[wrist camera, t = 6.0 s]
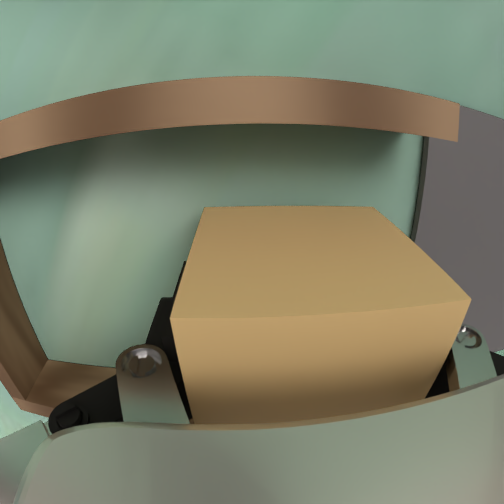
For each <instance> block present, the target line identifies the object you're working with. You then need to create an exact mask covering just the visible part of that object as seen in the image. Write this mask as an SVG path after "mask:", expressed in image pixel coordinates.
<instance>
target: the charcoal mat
mask: <svg viewBox="0 0 504 504" xmlns="http://www.w3.org/2000/svg"><path fill="white" fill-rule="evenodd" d="M411 240H412V241H413V242H414V243H415V244H416V245H417V246H418V247H420V248H421V249H422V250H423V251H424V252H425V253H426V254H427V255H428V256H429V257H430V258H431V259H432V260H433V261H434V262H435V263H436V264H438V265H439V266H440V267H441V268H442V269H443V270H444V271H445V272H446V273H447V274H448V275H449V276H450V277H451V278H452V279H453V280H454V281H455V282H456V283H457V284H458V285H459V286H460V287H461V288H462V289H463V290H464V292H465V293H466V294H467V295H468V296H469V297H470V298H471V299H472V300H471V302H470V305H469V307H468V310H467V312H466V315H465V317H464V320H463V322H462V324H467V325H470V326H473V327H475V328H476V329H478V330H479V331H480V332H481V333H482V334H483V336H484V338H485V340H486V343H487V346H488V349H489V351H491V352H497V351H500V350H503V349H504V119H501V118H498V117H495V116H492V115H489V114H486V113H483V112H480V111H477V110H474V109H470V108H467V107H464V106H460V110H459V129H458V142H454V141H449V140H444V139H439V138H433V137H427V136H424V144H423V156H422V166H421V175H420V183H419V191H418V198H417V205H416V211H415V217H414V223H413V229H412V234H411Z"/></svg>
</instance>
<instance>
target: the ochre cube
mask: <svg viewBox="0 0 504 504" xmlns="http://www.w3.org/2000/svg"><path fill="white" fill-rule="evenodd" d="M471 300H472V299H471V298H470V297H469V296H468V295H467V294H466V293H465V292H464V290H463V289H462V288H461V287H460V286H459V285H458V284H457V283H456V282H455V281H454V280H453V279H452V278H451V277H450V276H449V275H448V274H447V273H446V272H445V271H444V270H443V269H442V268H441V267H440V266H439V265H438V264H436V263H435V262H434V261H433V260H432V259H431V258H430V257H429V256H428V255H427V254H426V253H425V252H424V251H423V250H422V249H421V248H420V247H418V246H417V245H416V244H415V243H414V242H413V241H412V240H411V239H410V238H409V237H407V236H406V235H405V234H404V233H403V232H402V231H401V230H400V229H398V228H397V227H396V226H395V225H394V224H393V223H391V222H390V221H389V220H388V219H387V218H386V217H384V216H383V215H382V214H381V213H380V212H379V211H377V210H376V209H375V208H374V207H357V206H236V207H204V210H203V213H202V216H201V219H200V222H199V225H198V228H197V231H196V234H195V237H194V240H193V243H192V246H191V249H190V253H189V256H188V259H187V262H186V265H185V269H184V272H183V275H182V278H181V282H180V285H179V288H178V292H177V295H176V298H175V302H174V305H173V309H172V312H171V316H170V321H171V326H172V331H173V336H174V341H175V346H176V351H177V355H178V360H179V364H180V368H181V373H182V377H183V381H184V385H185V389H186V393H187V397H188V401H189V405H190V409H191V413H192V416H193V420H194V424H258V423H276V422H289V421H300V420H310V419H319V418H327V417H335V416H342V415H348V414H355V413H361V412H366V411H372V410H377V409H382V408H387V407H392V406H397V405H401V404H405V403H410V402H414V401H418V400H422V399H425V397H426V395H427V393H428V392H429V390H430V388H431V386H432V384H433V383H434V381H435V379H436V377H437V375H438V373H439V371H440V369H441V368H442V366H443V364H444V362H445V360H446V358H447V355H448V353H449V351H450V349H451V347H452V345H453V343H454V341H455V338H456V336H457V334H458V332H459V329H460V327H461V325H462V322H463V320H464V317H465V315H466V312H467V310H468V307H469V305H470V302H471Z"/></svg>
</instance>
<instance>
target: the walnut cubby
mask: <svg viewBox="0 0 504 504" xmlns="http://www.w3.org/2000/svg"><path fill="white" fill-rule="evenodd" d="M459 110H460V104H459V103H455V102H451V101H448V100H444V99H440V98H436V97H432V96H428V95H423V94H419V93H414V92H409V91H405V90H399V89H394V88H388V87H383V86H376V85H370V84H363V83H356V82H347V81H339V80H329V79H317V78H302V77H280V76H232V77H210V78H195V79H183V80H173V81H164V82H156V83H149V84H142V85H135V86H129V87H123V88H118V89H112V90H107V91H102V92H97V93H93V94H88V95H84V96H80V97H75V98H71V99H67V100H64V101H60V102H56V103H53V104H49V105H46V106H42V107H39V108H36V109H33V110H30V111H26V112H23V113H21V114H18V115H15V116H12V117H9V118H6V119H4V120H1V121H0V159H1V158H5V157H8V156H12V155H16V154H19V153H23V152H27V151H31V150H35V149H39V148H44V147H48V146H53V145H57V144H62V143H67V142H72V141H77V140H82V139H88V138H94V137H100V136H106V135H112V134H119V133H126V132H134V131H142V130H151V129H161V128H171V127H183V126H197V125H216V124H248V123H280V124H312V125H331V126H345V127H357V128H367V129H376V130H385V131H393V132H401V133H408V134H415V135H421V136H427V137H433V138H439V139H444V140H449V141H454V142H458V129H459ZM115 374H116V368H110V367H100V366H91V365H82V364H75V363H67V362H60V361H54V360H48V359H47V357H46V355H45V353H44V351H43V349H42V347H41V345H40V343H39V341H38V339H37V337H36V334H35V332H34V330H33V328H32V326H31V323H30V321H29V319H28V317H27V314H26V312H25V309H24V307H23V305H22V302H21V300H20V297H19V294H18V292H17V289H16V286H15V284H14V281H13V278H12V275H11V272H10V269H9V266H8V263H7V260H6V257H5V254H4V250H3V247H2V244H1V240H0V381H1V382H2V384H3V385H4V387H5V388H6V389H7V391H8V392H9V394H10V395H11V397H12V398H13V399H14V401H15V402H16V404H17V405H18V406H19V408H20V409H21V410H24V411H27V412H31V413H34V414H38V415H41V416H45V417H49V416H50V414H51V412H52V411H53V409H54V408H55V407H56V406H58V405H59V404H60V403H62V402H64V401H66V400H68V399H70V398H72V397H74V396H76V395H78V394H79V393H81V392H83V391H85V390H87V389H89V388H91V387H93V386H95V385H97V384H99V383H100V382H102V381H104V380H106V379H108V378H110V377H112V376H114V375H115ZM189 422H190V424H194V420H193V418H192V419H190V420H189Z"/></svg>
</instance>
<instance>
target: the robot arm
mask: <svg viewBox="0 0 504 504" xmlns="http://www.w3.org/2000/svg"><path fill="white" fill-rule="evenodd" d="M186 262H187V261H184V264H183V267H182V270H181V273H180V276H179V279H178V282H177V285H176V289H175V292H174V295H173V297H163V298H161V300H160V302H159V305H158V308H157V311H156V314H155V317H154V319H153V322H152V325H151V328H150V331H149V334H148V337H147V340H146V343H145V344H142V345H136V346H133V347H130V348H128V349H126V350H125V351H123V352H122V353H121V354H120V355H119V357H118V359H117V361H116V374H115V375H114V376H112V377H110V378H108V379H106V380H104V381H102V382H100V383H99V384H97V385H95V386H93V387H91V388H89V389H87V390H85V391H83V392H81V393H79V394H78V395H76V396H74V397H72V398H70V399H68V400H66V401H64V402H62V403H60V404H59V405H58V406H56V407H55V408H54V409H53V411H52V412H51V414H50V416H49V420H48V421H47V422H45V423H43V422H42V421H41V420H40V421H38V422H36V423H34V424H31V425H29V426H27V427H25V428H23V429H21V430H19V431H16V432H14V433H12V434H10V435H8V436H6V437H3V438H1V439H0V504H504V356H501V355H499V354H496V353H494V352H491V351H489V349H488V346H487V343H486V340H485V338H484V336H483V334H482V333H481V332H480V331H479V330H478V329H476V328H475V327H473V326H470V325H467V324H462V325H461V327H460V329H459V332H458V334H457V336H456V338H455V341H454V343H453V345H452V347H451V349H450V351H449V353H448V355H447V358H446V360H445V362H444V364H443V366H442V368H441V369H440V371H439V373H438V375H437V377H436V379H435V381H434V383H433V384H432V386H431V388H430V390H429V392H428V393H427V395H426V397H425V399H422V400H418V401H414V402H410V403H405V404H401V405H397V406H392V407H387V408H382V409H377V410H372V411H366V412H361V413H355V414H348V415H342V416H335V417H327V418H319V419H310V420H300V421H289V422H276V423H258V424H190V422H189V420H190V419H192V418H193V416H192V413H191V409H190V405H189V401H188V397H187V393H186V389H185V385H184V381H183V377H182V373H181V368H180V364H179V360H178V355H177V351H176V346H175V341H174V336H173V331H172V326H171V321H170V316H171V312H172V309H173V305H174V302H175V298H176V295H177V292H178V288H179V285H180V282H181V278H182V275H183V272H184V269H185V265H186Z"/></svg>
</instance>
